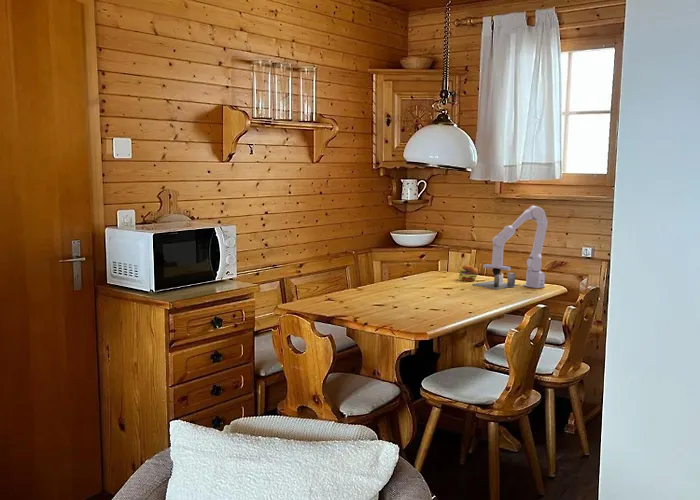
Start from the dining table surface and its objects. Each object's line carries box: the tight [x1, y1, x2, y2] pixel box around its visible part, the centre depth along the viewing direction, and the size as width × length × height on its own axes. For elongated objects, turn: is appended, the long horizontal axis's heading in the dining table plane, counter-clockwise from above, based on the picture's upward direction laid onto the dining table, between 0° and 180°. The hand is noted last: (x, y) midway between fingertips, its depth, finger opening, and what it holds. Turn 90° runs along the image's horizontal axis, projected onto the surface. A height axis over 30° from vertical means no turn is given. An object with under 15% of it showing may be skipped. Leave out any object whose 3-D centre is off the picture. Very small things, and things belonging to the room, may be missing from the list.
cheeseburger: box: [458, 264, 479, 282], centre depth 396 cm, size 10×11×10 cm
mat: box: [472, 280, 518, 291], centre depth 382 cm, size 16×19×1 cm
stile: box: [506, 272, 516, 286], centre depth 382 cm, size 5×6×6 cm
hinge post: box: [493, 275, 499, 287], centre depth 375 cm, size 2×2×6 cm
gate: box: [499, 272, 504, 286], centre depth 380 cm, size 10×2×6 cm, turn 156°
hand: (495, 282), depth 383 cm, fingers closed
